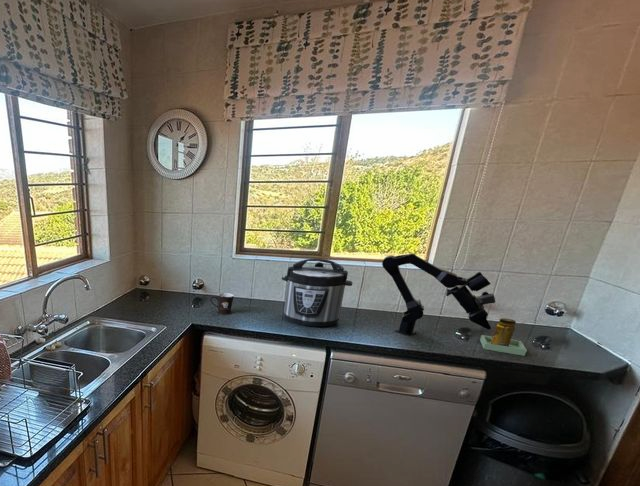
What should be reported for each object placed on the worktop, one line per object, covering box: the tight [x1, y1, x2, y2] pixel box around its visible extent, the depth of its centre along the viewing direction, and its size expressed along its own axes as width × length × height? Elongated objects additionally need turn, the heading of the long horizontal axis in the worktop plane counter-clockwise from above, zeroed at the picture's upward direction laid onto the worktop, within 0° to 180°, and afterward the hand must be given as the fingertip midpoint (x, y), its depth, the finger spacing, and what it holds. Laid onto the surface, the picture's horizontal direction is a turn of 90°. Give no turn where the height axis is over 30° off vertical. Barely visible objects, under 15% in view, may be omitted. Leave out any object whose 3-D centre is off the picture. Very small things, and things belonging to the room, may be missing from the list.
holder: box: [479, 334, 528, 357], centre depth 174 cm, size 14×13×3 cm
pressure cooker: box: [281, 258, 353, 328], centre depth 203 cm, size 30×28×32 cm
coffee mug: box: [209, 292, 235, 315], centre depth 219 cm, size 12×9×10 cm
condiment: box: [487, 317, 517, 348], centre depth 173 cm, size 7×8×12 cm
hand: (488, 326), depth 175 cm, fingers open, 9 cm apart
